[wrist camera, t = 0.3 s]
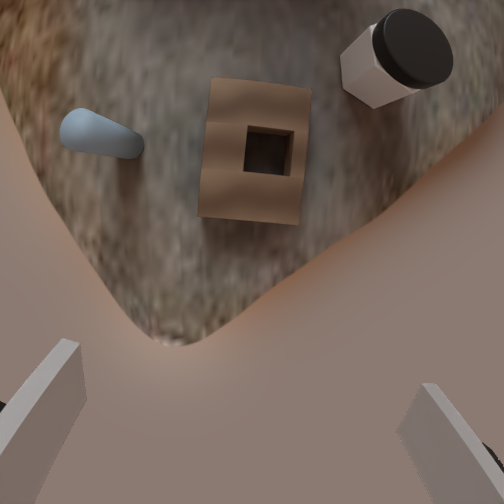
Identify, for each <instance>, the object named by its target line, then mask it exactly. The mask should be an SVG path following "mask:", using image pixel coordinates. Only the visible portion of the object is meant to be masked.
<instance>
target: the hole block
mask: <svg viewBox="0 0 504 504" xmlns="http://www.w3.org/2000/svg"><path fill="white" fill-rule="evenodd" d="M311 97H312V89H308V88H303V87H297V86H290V85H284V84H276V83H269V82H261V81H252V80H243V79H232V78H219V77H212V78H211V86H210V94H209V102H208V110H207V118H206V127H205V136H204V146H203V156H202V166H201V177H200V188H199V200H198V213H197V217H210V218H222V219H234V220H246V221H258V222H269V223H279V224H290V225H299V219H300V210H301V202H302V193H303V184H304V174H305V164H306V154H307V144H308V133H309V122H310V110H311ZM247 132H253V133H263V134H271V135H279V136H286V146H285V156H284V166H283V176H281V175H272V174H263V173H253V172H243V166H244V156H245V146H246V136H247Z"/></svg>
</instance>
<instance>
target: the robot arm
mask: <svg viewBox="0 0 504 504" xmlns="http://www.w3.org/2000/svg"><path fill="white" fill-rule="evenodd" d="M86 400H87V396H86V389H85V382H84V374H83V366H82V356H81V345H80V343H78V342H74V341H70V340H67V339H64V338H62V339H61V340H60V341H59V343H58V344H57V345H56V346H55V347H54V348H53V349H52V351H51V352H50V353H49V354H48V355H47V356H46V357H45V359H44V360H43V361H42V362H41V363H40V364H39V366H38V367H37V368H36V369H35V370H34V372H33V373H32V374H31V375H30V376H29V378H28V379H27V380H26V381H25V382H24V384H23V385H22V386H21V388H20V389H19V390H18V391H17V392H16V393H15V395H14V396H13V397H12V399H11V400H10V401H9V402H8V404H5V403H3V402H1V401H0V504H34V503H35V500H36V498H37V496H38V494H39V492H40V489H41V487H42V485H43V483H44V481H45V479H46V477H47V475H48V473H49V471H50V469H51V467H52V465H53V463H54V461H55V459H56V457H57V455H58V453H59V451H60V449H61V447H62V445H63V443H64V441H65V439H66V438H67V436H68V434H69V432H70V430H71V428H72V426H73V424H74V422H75V420H76V419H77V417H78V415H79V413H80V411H81V410H82V408H83V406H84V404H85V402H86ZM396 432H397V434H398V436H399V438H400V440H401V442H402V444H403V446H404V447H405V449H406V451H407V453H408V455H409V457H410V459H411V461H412V463H413V465H414V466H415V468H416V470H417V472H418V474H419V476H420V478H421V480H422V482H423V484H424V486H425V488H426V490H427V492H428V494H429V496H430V498H431V500H432V502H433V504H504V467H503V464H502V463H501V462H500V460H498V457H497V456H496V455H495V453H494V452H493V451H492V450H491V449H490V448H489V447H488V446H486V445H485V444H484V443H481V441H480V440H479V439H478V437H477V436H476V435H475V433H474V432H473V431H472V429H471V428H470V427H469V425H468V424H467V423H466V422H465V420H464V419H463V418H462V416H461V415H460V414H459V412H458V411H457V410H456V409H455V407H454V406H453V405H452V403H451V402H450V401H449V400H448V398H447V397H446V396H445V395H444V393H443V392H442V391H441V390H440V389H439V387H438V386H437V385H436V383H422V384H421V386H420V388H419V390H418V392H417V394H416V396H415V398H414V399H413V402H412V403H411V405H410V407H409V409H408V411H407V412H406V414H405V416H404V418H403V419H402V421H401V423H400V425H399V426H398V428H397V430H396Z"/></svg>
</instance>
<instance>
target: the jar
mask: <svg viewBox="0 0 504 504" xmlns="http://www.w3.org/2000/svg"><path fill="white" fill-rule="evenodd" d="M340 62H341V73H342V85H343V89H344V90H346V91H347V92H349V93H350V94H352V95H354V96H355V97H357V98H358V99H360V100H361V101H363V102H364V103H365V104H367V105H368V106H370V107H371V108H373V109H376V108H378V107H381V106H383V105H386V104H388V103H391V102H393V101H396V100H398V99H401V98H403V97H406V96H408V95H411V94H413V93H415V92H417V91H419V90H421V89H426V88H429V87H431V86H434V85H437V84H440V83H442V82H444V81H445V80H446V79H447V78H448V77H449V76H450V74H451V72H452V68H453V54H452V50H451V47H450V44H449V42H448V40H447V38H446V36H445V35H444V33H443V32H442V31H441V29H440V28H439V27H438V26H437V25H436V24H435V23H434V22H433V21H432V20H431V19H429V18H428V17H426V16H425V15H423V14H421V13H419V12H417V11H414V10H410V9H397V10H394V11H392V12H390V13H389V14H388V15H387V16H385V17H384V18H383V19H382V20H381V21H380V22H379V23H377V24H374V25H371V26H369V27H368V28H367V29H366V30H365V31H364V32H363V33H362V34H361V35H360V36H359V37H358V38H357V39H356V40H355V41H354V42H353V43H352V44H351V45H350V46H349V47H348V48H347V49H346V50H345V51H344V52H343V53H342V54H341V55H340Z"/></svg>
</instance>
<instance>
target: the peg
mask: <svg viewBox="0 0 504 504" xmlns="http://www.w3.org/2000/svg"><path fill="white" fill-rule="evenodd" d="M60 140H61V142H62V144H63V145H64V147H65V148H67V149H68V150H71V151H78V152H84V153H91V154H98V155H104V156H111V157H117V158H123V159H135V158H137V157H138V156H139V155H140V154H141V153H142V151H143V148H144V140H143V138H142V136H141V135H140V134H138V133H136V132H134V131H132V130H130V129H128V128H126V127H124V126H122V125H120V124H118V123H115V122H113V121H111V120H109V119H107V118H105V117H103V116H100V115H98V114H96V113H94V112H92V111H90V110H87V109H84V108H79V109H75V110H73V111H71V112H70V113H69V114H68V115H67V116H66V117H65V118H64V120H63V121H62V124H61V127H60Z"/></svg>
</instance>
